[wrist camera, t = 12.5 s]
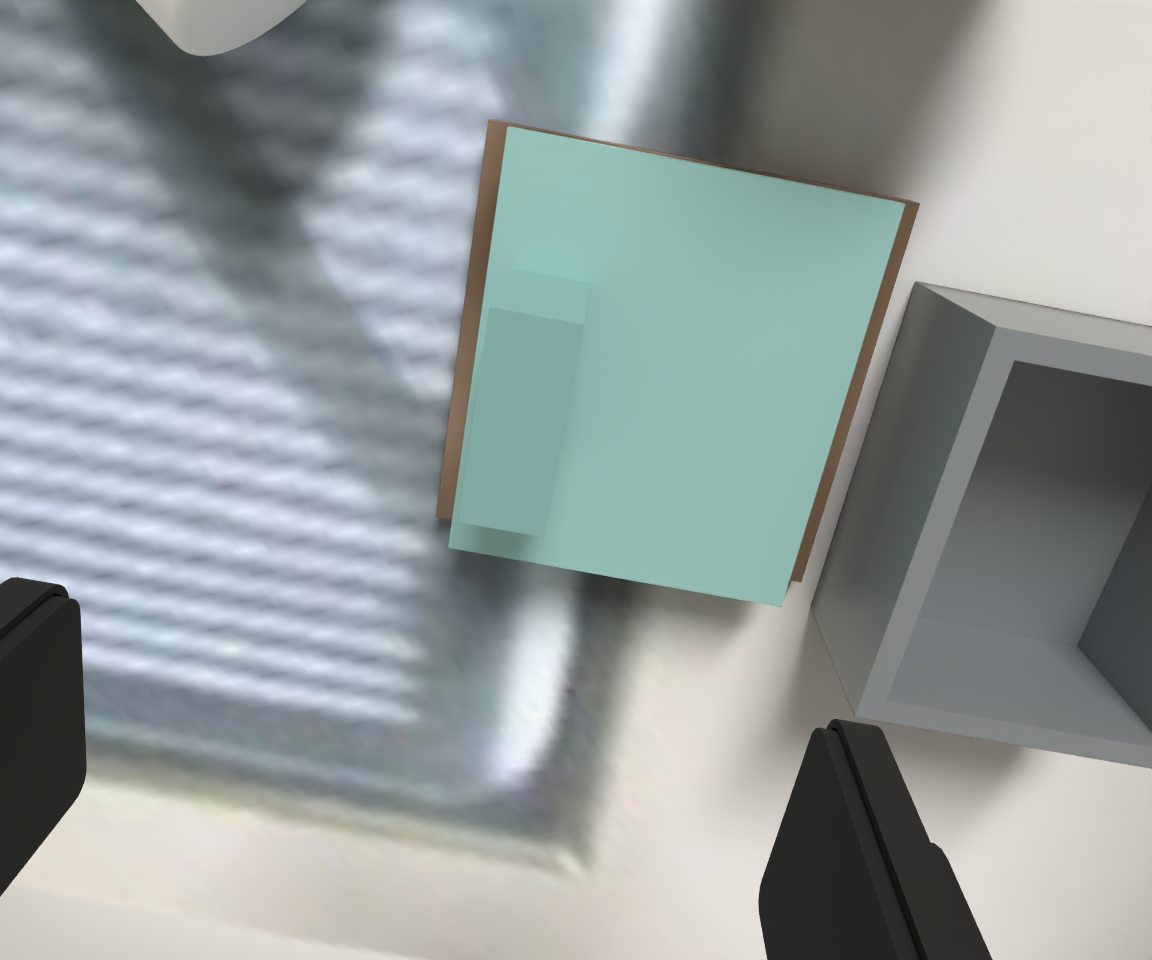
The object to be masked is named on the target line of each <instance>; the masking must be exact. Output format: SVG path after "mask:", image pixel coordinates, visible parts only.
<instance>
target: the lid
mask: <svg viewBox="0 0 1152 960" xmlns="http://www.w3.org/2000/svg"><path fill="white" fill-rule="evenodd" d="M904 207H905V204H903V203H900V202H897V201H892V200H887V199H882V198H877V197H871V196H866V195H861V194H856V193H851V192H846V191H841V190H835V189H830V188H825V187H820V186H815V185H810V184H805V183H799V182H794V181H789V180H784V179H779V178H774V177H769V176H763V175H758V174H753V173H748V172H743V171H738V170H733V169H727V168H722V167H717V166H712V165H707V164H702V163H697V162H691V161H686V160H681V159H676V158H671V157H666V156H661V155H655V154H650V153H645V152H640V151H635V150H630V149H625V148H619V147H614V146H609V145H604V144H599V143H594V142H589V141H583V140H578V139H573V138H568V137H563V136H558V135H553V134H547V133H542V132H537V131H532V130H527V129H522V128H517V127H511V126H510V127H507V134H506V141H505V148H504V155H503V162H502V169H501V176H500V183H499V191H498V198H497V205H496V212H495V219H494V226H493V233H492V240H491V247H490V254H489V261H488V268H487V276H486V283H485V290H484V297H483V304H482V311H481V318H480V325H479V332H478V339H477V346H476V353H475V361H474V368H473V375H472V382H471V389H470V396H469V403H468V410H467V417H466V424H465V431H464V438H463V446H462V453H461V460H460V467H459V474H458V481H457V488H456V495H455V502H454V509H453V516H452V523H451V531H450V538H449V545H448V548H452V549H458V550H464V551H469V552H475V553H481V554H486V555H492V556H497V557H503V558H509V559H514V560H520V561H525V562H531V563H537V564H542V565H548V566H553V567H559V568H565V569H570V570H576V571H581V572H587V573H593V574H598V575H604V576H610V577H615V578H621V579H626V580H632V581H638V582H643V583H649V584H654V585H660V586H666V587H671V588H677V589H682V590H688V591H694V592H699V593H705V594H711V595H716V596H722V597H727V598H733V599H739V600H744V601H750V602H755V603H761V604H767V605H772V606H778V607H781V606H782V603H783V600H784V596H785V593H786V590H787V587H788V583H789V580H790V577H791V574H792V570H793V567H794V564H795V561H796V557H797V554H798V551H799V548H800V545H801V541H802V538H803V535H804V532H805V528H806V525H807V522H808V519H809V515H810V512H811V509H812V506H813V502H814V499H815V496H816V493H817V489H818V486H819V483H820V480H821V476H822V473H823V470H824V467H825V463H826V460H827V457H828V454H829V450H830V447H831V444H832V441H833V437H834V434H835V431H836V428H837V424H838V421H839V418H840V415H841V412H842V408H843V405H844V402H845V399H846V395H847V392H848V389H849V386H850V382H851V379H852V376H853V373H854V369H855V366H856V363H857V360H858V356H859V353H860V350H861V347H862V343H863V340H864V337H865V334H866V330H867V327H868V324H869V321H870V317H871V314H872V311H873V308H874V304H875V301H876V298H877V295H878V291H879V288H880V285H881V282H882V279H883V275H884V272H885V269H886V266H887V262H888V259H889V256H890V253H891V249H892V246H893V243H894V240H895V236H896V233H897V230H898V227H899V223H900V220H901V217H902V214H903V210H904Z"/></svg>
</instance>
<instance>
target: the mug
mask: <svg viewBox="0 0 1152 960" xmlns="http://www.w3.org/2000/svg"><path fill="white" fill-rule="evenodd" d="M136 1H137V2H138V3H139V4H140V5H141V7H142V8H143V9H144V10H145V11H146V12H147V13H148V14H149V15H150V16H151V18H152V19H153V20H154V21H155V22H156V23H157V24H158V25H159V26H160V27H161V29H162V30H163V31H164V32H165V33H166V34H167V35H168V36H169V37H170V39H171V40H172V41H173V42H174V43H175V44H176V45H177V46H178V47H179V48H180V49H182V50H183V51H185V52H187V53H189V54H193V55H197V56H211V55H217V54H221V53H225V52H228V51H230V50H233V49H235V48H238V47H240V46H242V45H244V44H246V43H248V42H250V41H252V40H254V39H256V38H257V37H259V36H261V35H262V34H264V33H265V32H267V31H268V30H270V29H272V28H273V27H274V26H276V25H277V24H279V23H280V22H281V21H283V20H284V19H285V18H287V17H288V16H289V15H290V14H292V13H293V12H294V11H295V10H297V9H298V8H299V7H300V6H301V5H302V4H304V3H305V2H306V1H307V0H136Z"/></svg>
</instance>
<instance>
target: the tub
mask: <svg viewBox="0 0 1152 960" xmlns="http://www.w3.org/2000/svg"><path fill="white" fill-rule="evenodd" d="M811 609H812V612H813V614H814V617H815V619H816V622H817V624H818V627H819V629H820V632H821V634H822V637H823V639H824V642H825V644H826V647H827V649H828V652H829V654H830V657H831V659H832V662H833V664H834V667H835V669H836V672H837V674H838V677H839V679H840V682H841V684H842V687H843V689H844V692H845V694H846V697H847V699H848V702H849V704H850V707H851V709H852V712H853V714H854V717H858V718H864V719H869V720H875V721H881V722H887V723H892V724H898V725H904V726H910V727H915V728H921V729H927V730H932V731H938V732H944V733H950V734H955V735H961V736H967V737H973V738H978V739H984V740H990V741H996V742H1001V743H1007V744H1013V745H1019V746H1024V747H1030V748H1036V749H1042V750H1047V751H1053V752H1059V753H1065V754H1070V755H1076V756H1082V757H1088V758H1093V759H1099V760H1105V761H1111V762H1116V763H1122V764H1128V765H1134V766H1139V767H1145V768H1151V769H1152V326H1147V325H1142V324H1137V323H1131V322H1126V321H1121V320H1116V319H1111V318H1105V317H1100V316H1095V315H1090V314H1084V313H1079V312H1074V311H1069V310H1063V309H1058V308H1053V307H1048V306H1042V305H1037V304H1032V303H1027V302H1022V301H1016V300H1011V299H1006V298H1001V297H995V296H990V295H985V294H980V293H974V292H969V291H964V290H959V289H953V288H948V287H943V286H938V285H932V284H927V283H922V282H917V281H916V282H915V285H914V288H913V291H912V294H911V297H910V300H909V303H908V306H907V310H906V313H905V316H904V319H903V322H902V325H901V328H900V331H899V334H898V338H897V341H896V344H895V347H894V350H893V353H892V356H891V359H890V362H889V365H888V369H887V372H886V375H885V378H884V381H883V384H882V387H881V390H880V393H879V397H878V400H877V403H876V406H875V409H874V412H873V415H872V418H871V421H870V424H869V428H868V431H867V434H866V437H865V440H864V443H863V446H862V449H861V452H860V456H859V459H858V462H857V465H856V468H855V471H854V474H853V477H852V480H851V483H850V487H849V490H848V493H847V496H846V499H845V502H844V505H843V508H842V511H841V515H840V518H839V521H838V524H837V527H836V530H835V533H834V536H833V539H832V542H831V546H830V549H829V552H828V555H827V558H826V561H825V564H824V567H823V570H822V574H821V577H820V580H819V583H818V586H817V589H816V592H815V595H814V598H813V601H812V605H811Z"/></svg>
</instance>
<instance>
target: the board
mask: <svg viewBox="0 0 1152 960" xmlns="http://www.w3.org/2000/svg"><path fill="white" fill-rule="evenodd" d="M510 126H511V127H517V128H522V129H527V130H532V131H537V132H542V133H547V134H553V135H558V136H563V137H568V138H573V139H578V140H583V141H589V142H594V143H599V144H604V145H609V146H614V147H619V148H625V149H630V150H635V151H640V152H645V153H650V154H655V155H661V156H666V157H671V158H676V159H681V160H686V161H691V162H697V163H702V164H707V165H712V166H717V167H722V168H727V169H733V170H738V171H743V172H748V173H753V174H758V175H763V176H769V177H774V178H779V179H784V180H789V181H794V182H799V183H805V184H810V185H815V186H820V187H825V188H830V189H835V190H841V191H846V192H851V193H856V194H861V195H866V196H871V197H877V198H882V199H887V200H892V201H897V202H900V203H903V204H905V207H904V210H903V214H902V217H901V220H900V223H899V227H898V230H897V233H896V236H895V240H894V243H893V246H892V249H891V253H890V256H889V259H888V262H887V266H886V269H885V272H884V275H883V279H882V282H881V285H880V288H879V291H878V295H877V298H876V301H875V304H874V308H873V311H872V314H871V317H870V321H869V324H868V327H867V330H866V334H865V337H864V340H863V343H862V347H861V350H860V353H859V356H858V360H857V363H856V366H855V369H854V373H853V376H852V379H851V382H850V386H849V389H848V392H847V395H846V399H845V402H844V405H843V408H842V412H841V415H840V418H839V421H838V424H837V428H836V431H835V434H834V437H833V441H832V444H831V447H830V450H829V454H828V457H827V460H826V463H825V467H824V470H823V473H822V476H821V480H820V483H819V486H818V489H817V493H816V496H815V499H814V502H813V506H812V509H811V512H810V515H809V519H808V522H807V525H806V528H805V532H804V535H803V538H802V541H801V545H800V548H799V551H798V554H797V557H796V561H795V564H794V567H793V570H792V574H791V577H790V580H792V581H798V582H801V581H802V578H803V575H804V572H805V568H806V565H807V562H808V559H809V556H810V552H811V549H812V546H813V543H814V540H815V537H816V533H817V530H818V527H819V524H820V521H821V517H822V514H823V511H824V508H825V505H826V501H827V498H828V495H829V492H830V489H831V486H832V482H833V479H834V476H835V473H836V470H837V466H838V463H839V460H840V457H841V454H842V450H843V447H844V444H845V441H846V438H847V434H848V431H849V428H850V425H851V422H852V419H853V415H854V412H855V409H856V406H857V403H858V399H859V396H860V393H861V390H862V387H863V383H864V380H865V377H866V374H867V371H868V368H869V364H870V361H871V358H872V355H873V352H874V348H875V345H876V342H877V339H878V336H879V332H880V329H881V326H882V323H883V320H884V316H885V313H886V310H887V307H888V304H889V301H890V297H891V294H892V291H893V288H894V285H895V281H896V278H897V275H898V272H899V269H900V265H901V262H902V259H903V256H904V253H905V250H906V246H907V243H908V240H909V237H910V234H911V230H912V227H913V224H914V221H915V218H916V214H917V211H918V208H919V205H920V203H917V202H913V201H910V200H905V199H900V198H894V197H889V196H884V195H879V194H874V193H869V192H863V191H858V190H853V189H848V188H843V187H838V186H832V185H827V184H822V183H817V182H812V181H807V180H802V179H796V178H791V177H786V176H781V175H776V174H771V173H765V172H760V171H755V170H750V169H745V168H740V167H735V166H729V165H724V164H719V163H714V162H709V161H704V160H698V159H693V158H688V157H683V156H678V155H673V154H668V153H662V152H657V151H652V150H647V149H642V148H637V147H631V146H626V145H621V144H616V143H611V142H606V141H600V140H595V139H590V138H585V137H580V136H575V135H570V134H564V133H559V132H554V131H549V130H544V129H539V128H533V127H528V126H523V125H518V124H513V123H508V122H503V121H497V120H488V127H487V135H486V142H485V150H484V158H483V165H482V173H481V180H480V188H479V195H478V203H477V210H476V218H475V225H474V233H473V240H472V248H471V255H470V263H469V270H468V278H467V286H466V293H465V301H464V308H463V316H462V323H461V331H460V338H459V346H458V353H457V361H456V368H455V376H454V383H453V391H452V399H451V406H450V414H449V421H448V429H447V436H446V444H445V451H444V459H443V466H442V474H441V481H440V489H439V496H438V504H437V512H436V517H440V518H445V519H451V520H452V516H453V509H454V502H455V495H456V488H457V481H458V474H459V467H460V460H461V453H462V446H463V438H464V431H465V424H466V417H467V410H468V403H469V396H470V389H471V382H472V375H473V368H474V361H475V353H476V346H477V339H478V332H479V325H480V318H481V311H482V304H483V297H484V290H485V283H486V276H487V268H488V261H489V254H490V247H491V240H492V233H493V226H494V219H495V212H496V205H497V198H498V191H499V183H500V176H501V169H502V162H503V155H504V148H505V141H506V134H507V127H510Z"/></svg>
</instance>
